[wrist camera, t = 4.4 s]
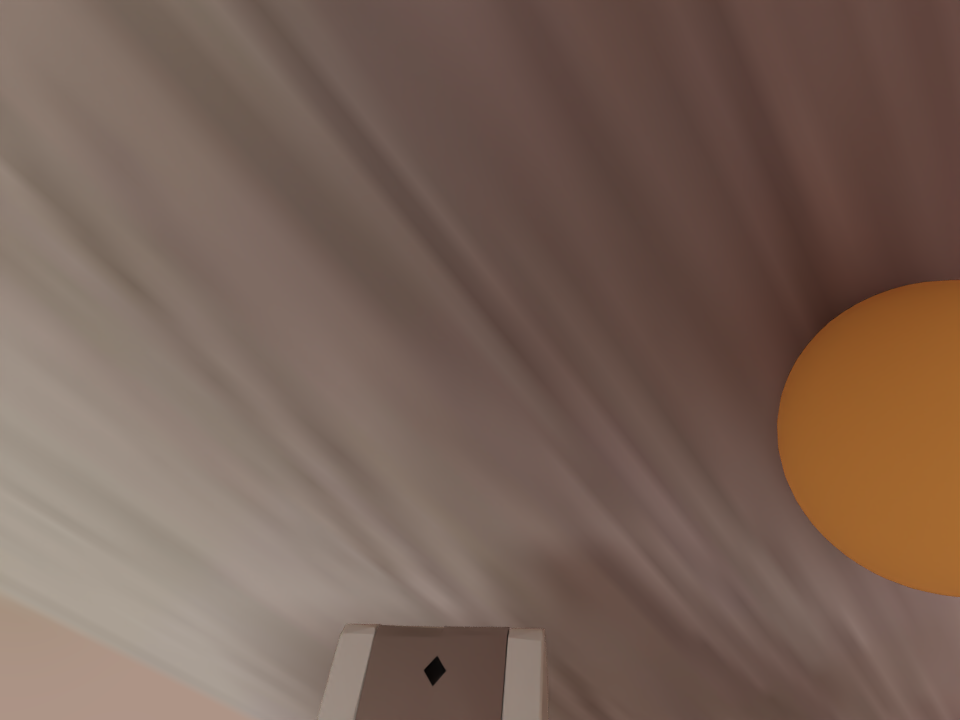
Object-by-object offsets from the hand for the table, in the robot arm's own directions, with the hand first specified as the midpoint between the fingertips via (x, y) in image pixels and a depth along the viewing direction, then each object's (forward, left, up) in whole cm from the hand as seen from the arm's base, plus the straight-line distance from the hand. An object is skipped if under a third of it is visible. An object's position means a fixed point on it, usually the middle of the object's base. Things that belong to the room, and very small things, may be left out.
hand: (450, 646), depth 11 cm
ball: (+8, +1, -4) cm, 9 cm away
